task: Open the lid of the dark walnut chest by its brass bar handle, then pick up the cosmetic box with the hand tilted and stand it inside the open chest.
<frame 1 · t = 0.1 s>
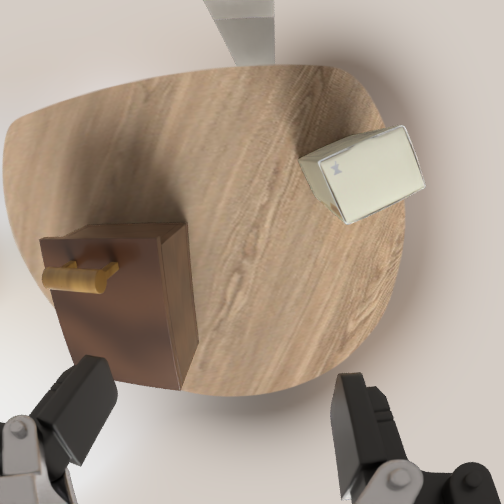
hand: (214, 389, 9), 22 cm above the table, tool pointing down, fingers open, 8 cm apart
chest: (140, 285, 34), on the table
cosmetic box: (335, 165, 28), on the table
lid: (97, 329, 24), point 10 cm above the table, hinge at 0.0°
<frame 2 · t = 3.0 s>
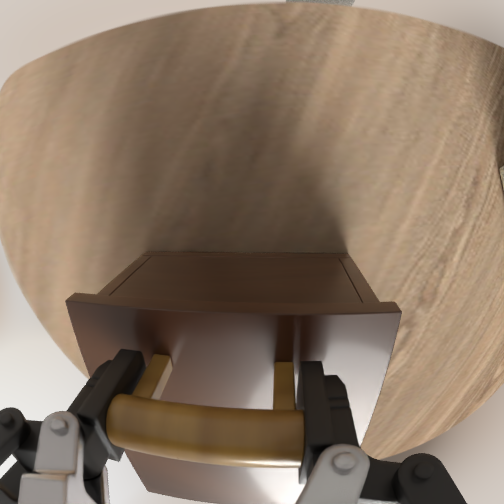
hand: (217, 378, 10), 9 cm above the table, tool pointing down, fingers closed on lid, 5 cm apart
chest: (246, 352, 21), on the table
lid: (225, 475, 11), point 10 cm above the table, hinge at 0.0°, touching gripper
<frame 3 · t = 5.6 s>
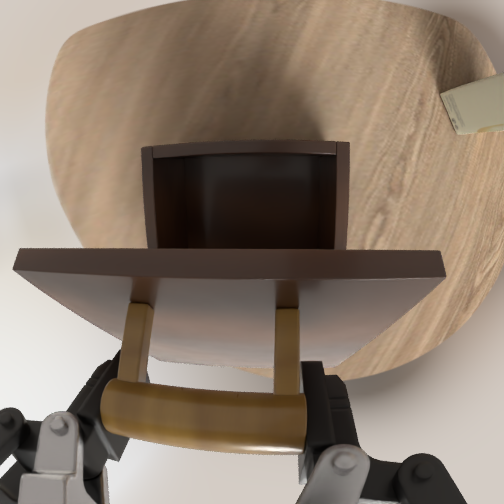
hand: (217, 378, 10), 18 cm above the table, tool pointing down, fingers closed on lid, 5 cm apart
chest: (252, 232, 26), on the table
cosmetic box: (467, 106, 21), on the table
lid: (230, 381, 13), point 15 cm above the table, hinge at 44.6°, touching gripper
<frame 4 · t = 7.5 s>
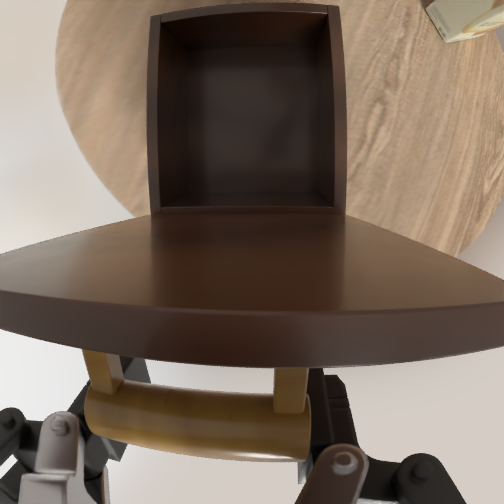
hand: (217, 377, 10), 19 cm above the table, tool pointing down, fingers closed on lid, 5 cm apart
chest: (252, 117, 24), on the table
cosmetic box: (453, 23, 19), on the table
lid: (225, 294, 12), point 16 cm above the table, hinge at 83.7°, touching gripper
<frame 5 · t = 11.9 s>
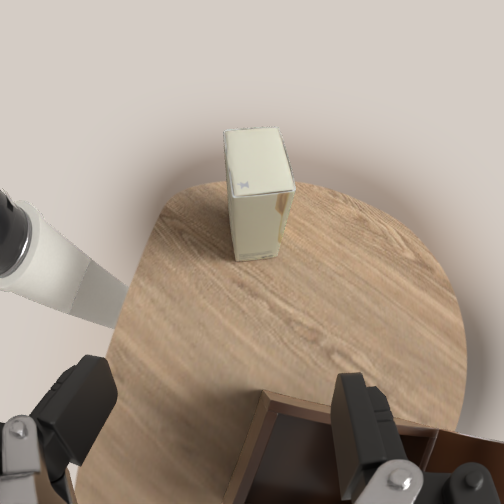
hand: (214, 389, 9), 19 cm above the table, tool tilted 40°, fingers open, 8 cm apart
chest: (314, 464, 24), on the table
cosmetic box: (251, 231, 32), on the table
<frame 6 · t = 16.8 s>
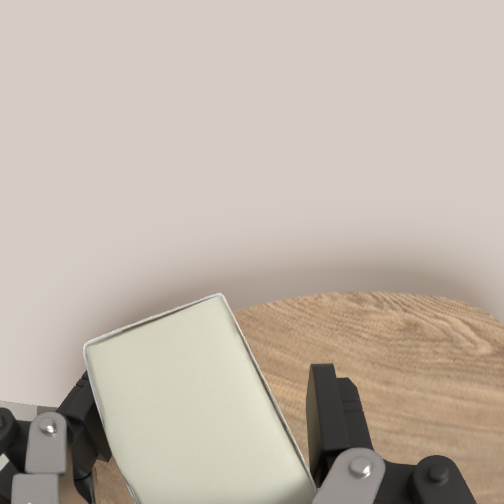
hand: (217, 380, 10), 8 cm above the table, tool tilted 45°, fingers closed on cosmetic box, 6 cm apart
cosmetic box: (240, 413, 17), on the table, touching gripper
when the fingers open (9 cm above the table, at t = 26.8 s): cosmetic box stays where it is, resting on chest.
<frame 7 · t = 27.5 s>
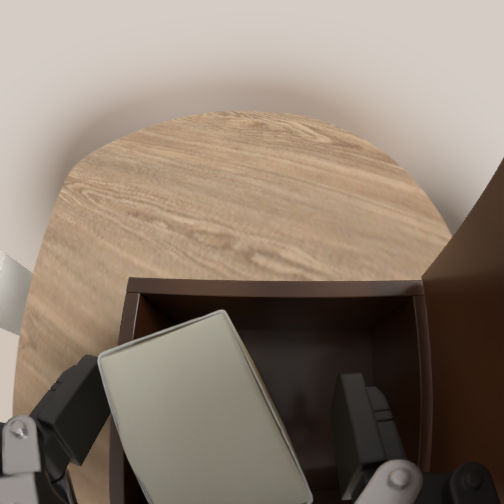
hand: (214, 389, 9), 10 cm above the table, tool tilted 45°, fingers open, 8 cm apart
chest: (273, 412, 18), on the table
cosmetic box: (242, 414, 18), point 1 cm above the table, touching chest
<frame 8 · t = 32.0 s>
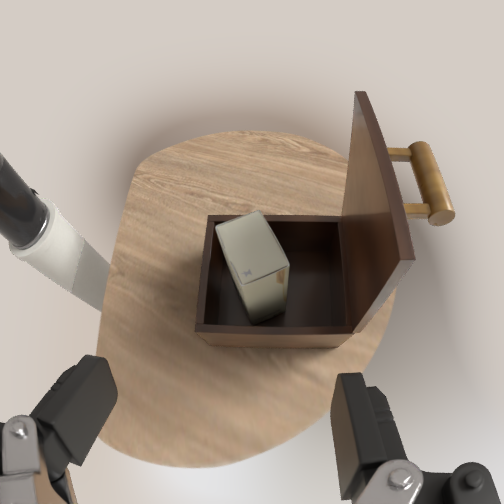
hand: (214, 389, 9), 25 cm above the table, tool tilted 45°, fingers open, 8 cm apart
chest: (275, 295, 37), on the table
cosmetic box: (258, 295, 36), point 1 cm above the table, touching chest
lid: (390, 226, 22), point 16 cm above the table, hinge at 84.4°
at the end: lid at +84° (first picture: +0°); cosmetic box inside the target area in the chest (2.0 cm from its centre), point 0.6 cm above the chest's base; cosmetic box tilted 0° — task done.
